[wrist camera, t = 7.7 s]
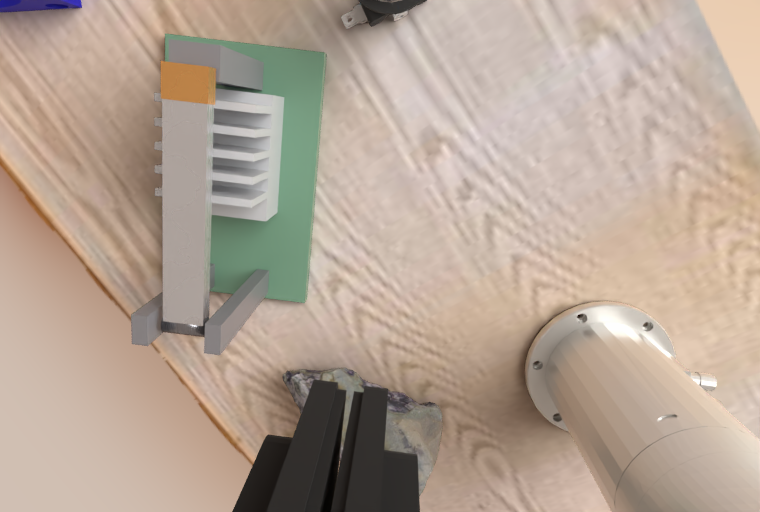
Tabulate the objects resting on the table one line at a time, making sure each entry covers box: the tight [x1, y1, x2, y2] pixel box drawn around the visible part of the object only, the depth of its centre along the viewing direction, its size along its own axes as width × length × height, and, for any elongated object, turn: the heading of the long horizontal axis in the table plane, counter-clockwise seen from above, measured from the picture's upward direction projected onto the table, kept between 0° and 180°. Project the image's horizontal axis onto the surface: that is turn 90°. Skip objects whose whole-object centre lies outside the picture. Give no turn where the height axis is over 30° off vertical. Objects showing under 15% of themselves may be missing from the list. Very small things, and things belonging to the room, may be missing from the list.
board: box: [131, 34, 327, 355], centre depth 35 cm, size 12×20×12 cm, turn 173°
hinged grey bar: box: [161, 61, 216, 337], centre depth 30 cm, size 3×17×1 cm, turn 174°
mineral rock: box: [283, 368, 443, 496], centre depth 41 cm, size 13×11×10 cm
